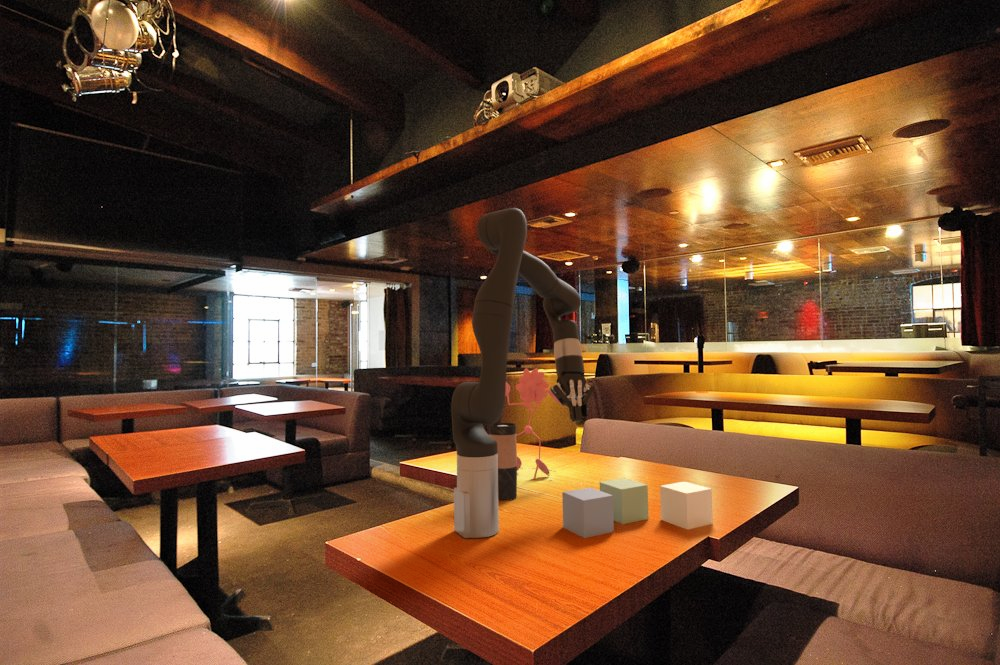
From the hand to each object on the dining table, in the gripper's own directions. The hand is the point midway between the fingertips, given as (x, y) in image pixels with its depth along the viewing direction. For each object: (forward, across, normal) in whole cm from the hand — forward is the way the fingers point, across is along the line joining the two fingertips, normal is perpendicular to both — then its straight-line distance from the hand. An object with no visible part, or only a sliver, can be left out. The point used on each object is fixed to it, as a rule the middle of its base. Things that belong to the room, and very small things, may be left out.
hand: (576, 421), depth 134 cm
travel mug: (+17, -13, +22) cm, 31 cm away
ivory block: (+26, +17, -14) cm, 35 cm away
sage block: (+24, +7, -5) cm, 26 cm away
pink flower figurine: (+9, +8, +43) cm, 44 cm away
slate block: (+26, -6, -9) cm, 28 cm away
